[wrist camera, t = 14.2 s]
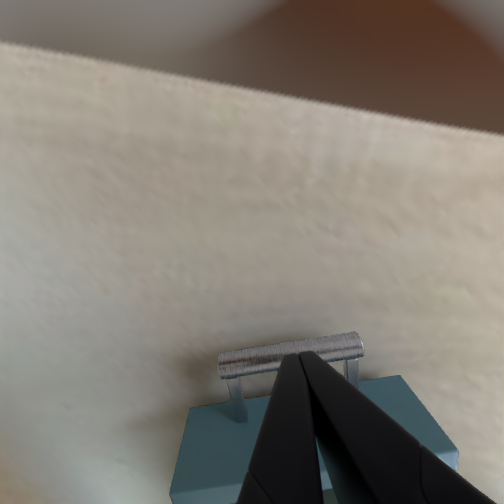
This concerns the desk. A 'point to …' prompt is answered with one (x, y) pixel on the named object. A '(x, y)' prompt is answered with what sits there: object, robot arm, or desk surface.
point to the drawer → (253, 410)
